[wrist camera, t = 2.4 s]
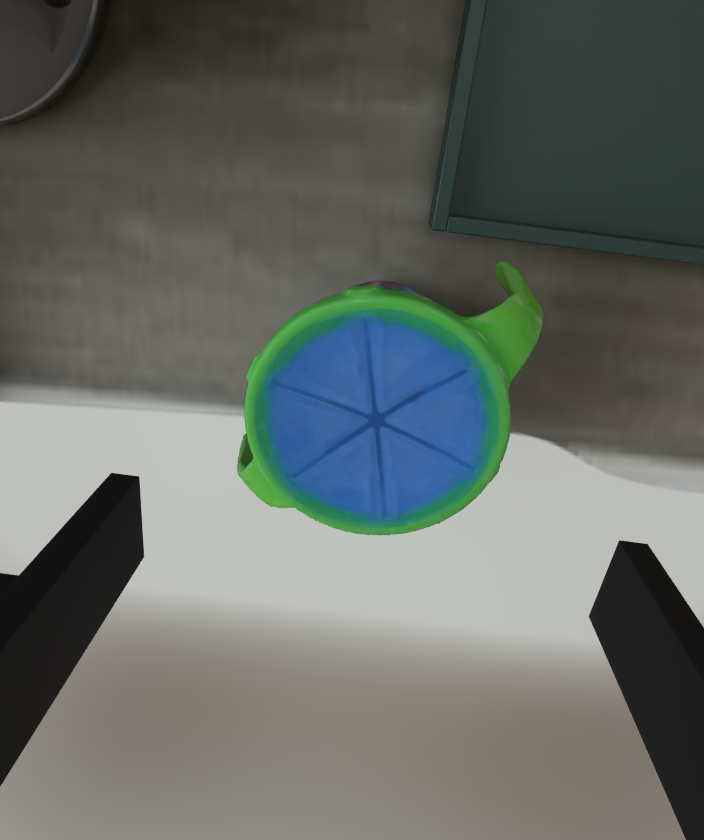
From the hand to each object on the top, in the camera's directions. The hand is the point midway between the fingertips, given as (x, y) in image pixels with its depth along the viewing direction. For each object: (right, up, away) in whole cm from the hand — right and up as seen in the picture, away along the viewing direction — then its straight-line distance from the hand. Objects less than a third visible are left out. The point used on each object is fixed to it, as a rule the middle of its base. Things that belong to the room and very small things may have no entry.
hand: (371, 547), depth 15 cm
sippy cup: (+1, +8, +16) cm, 17 cm away
